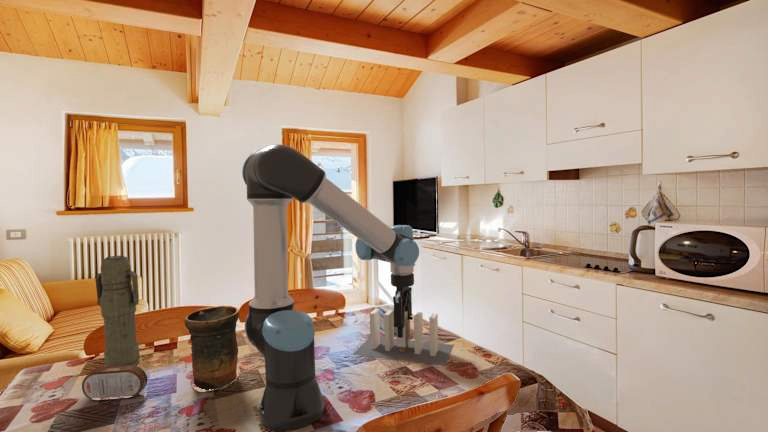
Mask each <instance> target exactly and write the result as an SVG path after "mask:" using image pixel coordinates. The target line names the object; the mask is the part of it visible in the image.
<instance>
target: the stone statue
mask: <svg viewBox="0 0 768 432" xmlns="http://www.w3.org/2000/svg"><path fill="white" fill-rule="evenodd" d="M131 267H132V265H131V262H130V261H129V258H128V257H127V256H125V255H114V256H113V255H112V256H107V257H105V258H103V259H102V262H101V264H100V269H99V270H100V272H99V273H97V274H96V276H95V287H96V288H95V289H96V296H97V305H98V306H99V307H100V313H101V317H102V318H103V326H104V340H105V348H104V351H103V355H104V365H105V366H104V367H113V366H127V365H134V366H137V365H138V364H139V363H140V357H141V356H140V345H139V342H138V340H137V330H136V328H137V327H136V315H135V313H136V311H137V305H139V297H140V296H139V295H140V294H139V282H138V275H137V272H135V271H133V270H132V268H131Z"/></svg>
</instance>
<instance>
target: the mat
mask: <svg viewBox="0 0 768 432" xmlns="http://www.w3.org/2000/svg"><path fill="white" fill-rule="evenodd" d="M454 346H455V345H454V344H449V343H439V342H438V351H437V353H436V355H435V356H430V341H429V342H428V341H423V349H422V351H421V353H420V354H415V347H414V340H408V348H407V349H406V350H405V352H400V349H399V346H397V338H394V346H393V347H392V349H391V350H390V351H385V337H381V336H380V345H379V346H378V347H377V348H376V349H371V340H370V336H369V337H368V338H367V339H366V340H365V341H364V342H363V343H362V344H361V345H360V346H359V347H358V348H356V349H355V351H354V352H353V353H352V355H356V356H365V357H372V358H378V359H379V358H380V359H390V360H397V361H405V362H413V363H421V364H430V365H438V366H439V365H440V366H446V365H447V361H448V360H449V358H450V355H451V352H452V350H453V347H454Z"/></svg>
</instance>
